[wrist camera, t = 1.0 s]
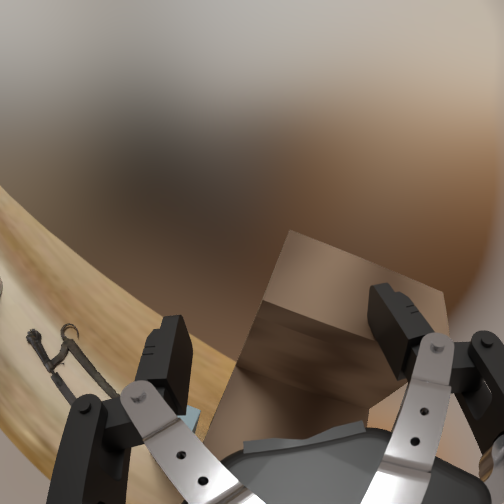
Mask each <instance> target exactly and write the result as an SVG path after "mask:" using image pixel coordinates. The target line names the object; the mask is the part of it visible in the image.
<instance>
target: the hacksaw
mask: <svg viewBox="0 0 504 504" xmlns="http://www.w3.org/2000/svg"><path fill="white" fill-rule="evenodd" d="M67 325H72V326H74V325H73V324H65V325H64V326H63V327H62V329H61V337H62V339H63V340H64V342H63V344H62V345H61V350H60V352H59V354H58V355H57V356H55V357H54V358H53V359H51V360H50V359H49V357H48V355H47V354H46V352H45V349H44V348H43V345H42V344H41V334H40V333H39V332H38V331H36V330H34V329H32V331H31V329H30V332H28V335H27V336H26V338H27V341H28V342H30V343H31V344H32V346H33V347H34V349H35V351H36V352H37V354H38V355H39V357H40V358H41V360H42V362H43V364H44V366H45V367H46V369H47V370H48V372H50V371H51V373H52V374H53V375H52V376H51V378H52V380H53V381H54V382H55V384H56V386H57V387H58V388H59V390H60V391H61V392H62V394H63V396H64V397H65V398H66V400H67V401H68V402H69V403H70V405H71V406H72V404H73V402H74V401H75V400H76V397H75V396H74V395H73V393H72V392H71V391H70V389H69V388H68V387H67V385H66V384H65V383H64V381H63V380H62V378H61V377H60V376H59V374H58V373H57V372H56V373H54V371H53V369H54V368H55V367H54V366H56V365H57V364H58V363H59V362H60V361H61V360H62V359H64V357H65V355H66V354H67V352H68V349H69V350H70V351H71V352H72V353H73V355H74V356H75V357H76V359H77V360H78V361H79V362H80V363H81V364H82V366H83V367H84V368H85V369H86V371H87V372H88V373H89V374H90V375H91V376H92V378H93V379H94V380H95V381H96V382H97V383H98V384H99V385H100V386H101V388H102V389H103V390H104V391H105V392H106V393H107V394H108V395H109V396H110V397H111V398H112V399H113V398H116V397H119V396H120V395H119V394H117V393H116V391H115V390H114V389H113V388H112V387H111V386H110V385H109V383H107V382H106V380H105V379H104V378H103V377H102V376H101V375H100V373H99V372H97V370H96V369H95V367H94V366H93V365H92V363H91V362H90V361H89V360H88V358H87V357H86V356H85V355H84V354H83V352H82V351H81V349H80V348H79V347H78V345H77V344H76V343H75V341H74V340H73V339H68V338H67V337H66V336H65V335H64V333H63V331H64V328H65V327H66V326H67ZM74 327H75V326H74ZM75 328H76V327H75ZM76 329H77V328H76ZM77 335H78V330H77ZM60 364H63V365H64V363H60Z"/></svg>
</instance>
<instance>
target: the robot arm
mask: <svg viewBox="0 0 504 504" xmlns="http://www.w3.org/2000/svg"><path fill="white" fill-rule="evenodd" d="M1 292H2V281H1V278H0V295H1ZM367 319H368V324H369V327H370V329H371V331H372V333H373V335H374V336H375V338H376V340H377V342H378V344H379V346H380V348H381V350H382V352H383V354H384V356H385V358H386V360H387V362H388V364H389V366H390V367H391V369H392V371H393V373H394V375H395V378H396V380H397V381H399V380H402V379H407V381H408V385H407V389H406V391H405V394H404V398H403V400H402V404H401V406H400V409H399V412H398V415H397V418H396V420H395V423H394V425H393V428H392V430H391V432H390V431H387V430H383V429H378V428H365V427H364V424H363V421H362V420H361V421H357V422H353V423H349V424H345V425H341V426H336V427H333V428H331V429H329V430H326V431H324V432H322V433H320V434H317V435H315V436H313V437H310V438H308V439H304V440H300V439H281V438H268V439H260V440H251V441H243V449H242V450H239V451H236V452H234V453H232V454H230V455H228V456H227V457H225V458H224V459H222V460H221V461H220V462H219V461H218V460H217V458H216V457H215V456H214V455H213V454H212V453H211V452H210V451H209V450H208V449H207V448H206V447H205V446H204V444H203V443H202V442H201V441H200V440H199V439H198V438H197V437H196V435H195V434H194V433H193V432H192V431H191V430H190V428H189V427H188V426H187V425H186V424H185V423H184V421H183V420H182V419H181V418H180V417H179V418H178V417H177V416H185V415H186V411H187V401H188V392H189V383H190V374H191V366H192V358H193V348H192V342H191V339H190V336H189V334H188V331H187V328H186V325H185V322H184V319H183V317H182V315H174V316H165V317H163V320H162V323H161V327H160V329H154V330H153V331H152V332H151V333H150V335H149V336H148V337H147V339H146V343H145V346H144V347H145V348H144V349H143V353H142V356H141V360H140V363H139V366H138V370H137V374H136V377H135V381H134V382H132V383H130V384H129V385H127V386H126V387H125V388H124V389H123V391H122V393H121V396H119V397H116V398H113V399H109V400H105V401H101V400H100V399H99V398H98V397H97V396H96V395H93V394H85V395H82V396H80V397H79V398H77V399H76V400H75V401H74V402H73V404H72V406H71V409H70V412H69V415H68V418H67V422H66V425H65V428H64V432H63V435H62V439H61V442H60V446H59V450H58V453H57V457H56V461H55V465H54V469H53V474H52V478H51V483H50V487H49V492H48V497H47V502H46V504H125V503H126V491H127V481H128V471H129V462H130V454H131V447H134V446H138V445H142V444H145V445H146V447H147V448H148V450H149V451H150V453H151V454H152V456H153V457H154V458H155V460H156V461H157V463H158V464H159V466H160V467H161V468H162V470H163V471H164V472H165V474H166V475H167V477H168V478H169V479H170V481H171V482H172V483H173V485H174V486H175V487H176V488H177V490H178V491H179V492H180V494H181V495H182V496H183V497H184V498H185V500H184V501H183V502H182V503H181V504H502V503H503V502H504V345H503V343H502V342H501V341H500V339H499V338H498V337H497V336H496V335H495V334H494V333H492V332H489V331H478V332H476V333H475V334H474V335H473V336H472V339H471V341H470V342H453V341H452V339H450V337H448V336H447V335H445V334H442V333H435V331H434V330H433V329H432V327H431V326H430V325H429V323H428V322H427V320H426V319H425V318H424V316H423V315H422V314H421V312H419V310H418V308H417V307H416V306H415V305H414V303H413V302H412V301H411V299H410V298H409V297H408V296H406V295H405V294H403V293H401V292H400V291H399V292H395V291H394V290H393V289H392V287H391V286H390V285H389V283H387V282H386V283H381V284H376V285H371V286H370V289H369V300H368V311H367ZM484 381H485V382H486V384H487V385H486V384H485V382H484ZM487 386H488V387H489V389H490V390H489V389H488V387H487ZM490 391H491V392H490ZM451 393H454V394H455V396H456V398H457V400H458V402H459V404H460V406H461V409H462V411H463V413H464V415H465V417H466V419H467V421H468V423H469V425H470V428H471V430H472V432H473V434H474V437H475V439H476V441H477V443H478V446H479V448H480V451H481V453H482V457H481V459H480V462H479V477H480V479H479V478H478V477H476V476H474V475H472V474H470V473H468V472H466V471H464V470H462V469H460V468H458V467H456V466H453V465H452V464H450V463H448V462H446V461H443V460H442V459H440V458H438V457H436V456H435V455H436V452H437V448H438V445H439V441H440V437H441V434H442V430H443V426H444V421H445V417H446V413H447V408H448V404H449V399H450V394H451ZM491 393H492V394H491Z"/></svg>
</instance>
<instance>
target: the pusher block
mask: <svg viewBox="0 0 504 504" xmlns="http://www.w3.org/2000/svg"><path fill="white" fill-rule="evenodd" d="M200 412H201V410H198V409H196V408H193V407H191V406H189V405H187V411H186V415H185V416H177V417H178V418H179V417H180V418H181V419H182V420H183V421H184V423H185V424H186V425H187V426H188V427H189V428H190V430H191V431H192V432H193V433H194V434H195V431H196V427H197V423H198V419H199V415H200Z"/></svg>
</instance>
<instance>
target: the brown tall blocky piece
mask: <svg viewBox="0 0 504 504" xmlns="http://www.w3.org/2000/svg"><path fill="white" fill-rule="evenodd" d="M386 282H387V283H389V285H390V286H391V287H392V289H393V290H394V291H395V292H399V291H400V292H401V293H403V294H405V295H406V296H408V297H409V298H410V299H411V301H412V302H413V303H414V305H415V306H416V307H417V308H418V310H419V312H421V314H422V315H423V316H424V318H425V319H426V320H427V322H428V323H429V325H430V326H431V327H432V329H433V330H434V331H435V333H442V334H445V335H447V336H448V337H450V334H449V327H448V320H447V314H446V308H445V302H444V296H443V292H440V291H438V290H436V289H434V288H431V287H429V286H427V285H424V284H422V283H420V282H417V281H415V280H413V279H410V278H408V277H406V276H403V275H401V274H399V273H396V272H394V271H391V270H389V269H387V268H384V267H382V266H380V265H377V264H375V263H372V262H370V261H367V260H365V259H362V258H360V257H358V256H355V255H353V254H350V253H348V252H345V251H343V250H340V249H338V248H335V247H333V246H330V245H327V244H325V243H323V242H320V241H317V240H315V239H313V238H310V237H307V236H305V235H302V234H299V233H297V232H294V231H292V230H289V232H288V235H287V238H286V240H285V243H284V246H283V248H282V251H281V253H280V256H279V258H278V261H277V263H276V266H275V269H274V271H273V274H272V276H271V279H270V282H269V284H268V286H267V289H266V292H265V294H264V296H263V299H262V302H261V304H260V307H259V309H258V311H257V314H256V317H255V319H254V321H253V324H252V326H251V329H250V331H249V334H248V336H247V338H246V341H245V343H244V346H243V348H242V351H241V353H240V356H239V358H238V360H237V363H236V365H235V367H234V370H233V372H232V375H231V377H230V379H229V382H228V384H227V386H226V389H225V391H224V393H223V396H222V398H221V400H220V403H219V405H218V408H217V410H216V412H215V415H214V417H213V419H212V422H211V424H210V426H209V430H208V432H207V435H206V437H205V439H204V442H203V444H204V446H205V447H206V448H207V449H208V450H209V451H210V452H211V453H212V454H213V455H214V456H215V457H216V458H217V460H218V461H219V462H220V461H221V460H222V459H224V458H225V457H227V456H228V455H230V454H232V453H234V452H236V451H239V450H242V449H243V441H251V440H260V439H268V438H281V439H300V440H304V439H308V438H310V437H313V436H315V435H317V434H320V433H322V432H324V431H326V430H329V429H331V428H333V427H336V426H341V425H345V424H349V423H353V422H357V421H361V420H362V421H363V424H364V427H365V428H367V421H368V414H369V409H370V408H371V407H373V406H374V405H376V404H377V403H379V402H380V401H382V400H383V399H385V398H386V397H388V396H389V395H390V394H392V393H393V392H395V391H396V390H398V389H399V388H400V387H402V386H403V385H404V384H406V383H407V382H408V381H407V379H402V380H399V381H397V380H396V378H395V375H394V373H393V371H392V369H391V367H390V366H389V364H388V362H387V360H386V358H385V356H384V354H383V352H382V350H381V348H380V346H379V344H378V342H377V340H376V338H375V336H374V335H373V333H372V331H371V329H370V327H369V324H368V319H367V311H368V300H369V289H370V286H371V285H376V284H381V283H386Z"/></svg>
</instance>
